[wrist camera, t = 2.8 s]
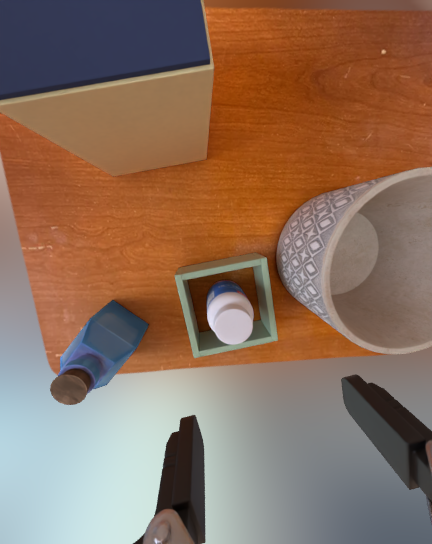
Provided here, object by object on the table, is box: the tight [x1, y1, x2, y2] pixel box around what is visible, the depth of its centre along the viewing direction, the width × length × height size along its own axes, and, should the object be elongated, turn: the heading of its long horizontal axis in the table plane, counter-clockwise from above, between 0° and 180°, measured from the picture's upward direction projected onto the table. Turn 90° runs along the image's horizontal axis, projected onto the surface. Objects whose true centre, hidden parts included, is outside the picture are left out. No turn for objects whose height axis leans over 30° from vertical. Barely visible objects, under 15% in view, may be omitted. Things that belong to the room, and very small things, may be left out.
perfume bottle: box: [50, 300, 149, 405], centre depth 25 cm, size 6×6×12 cm
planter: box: [276, 167, 432, 354], centre depth 25 cm, size 16×16×13 cm
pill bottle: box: [207, 280, 254, 345], centre depth 26 cm, size 6×5×10 cm
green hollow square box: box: [175, 253, 278, 358], centre depth 29 cm, size 11×11×5 cm
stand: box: [0, 0, 214, 177], centre depth 18 cm, size 12×12×16 cm
